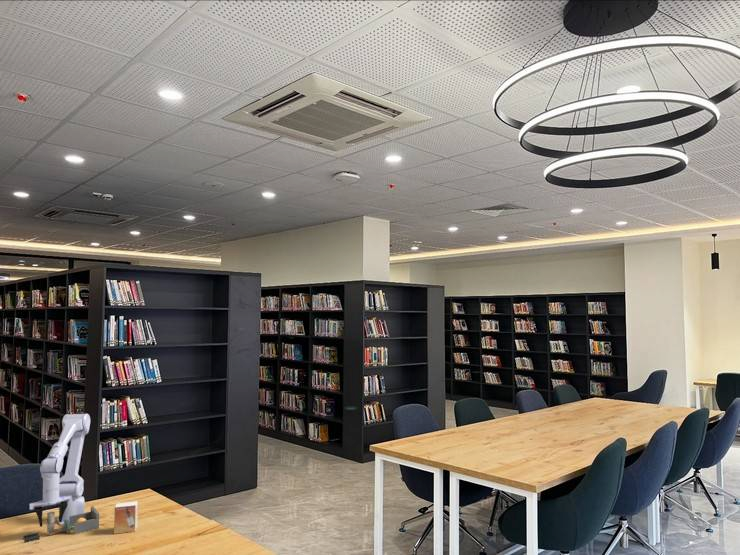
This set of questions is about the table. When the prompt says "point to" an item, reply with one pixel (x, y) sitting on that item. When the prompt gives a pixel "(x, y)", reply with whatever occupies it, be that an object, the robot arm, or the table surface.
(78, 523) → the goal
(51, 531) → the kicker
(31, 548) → the table surface
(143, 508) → the table surface
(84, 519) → the ball
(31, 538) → the track
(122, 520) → the small box
